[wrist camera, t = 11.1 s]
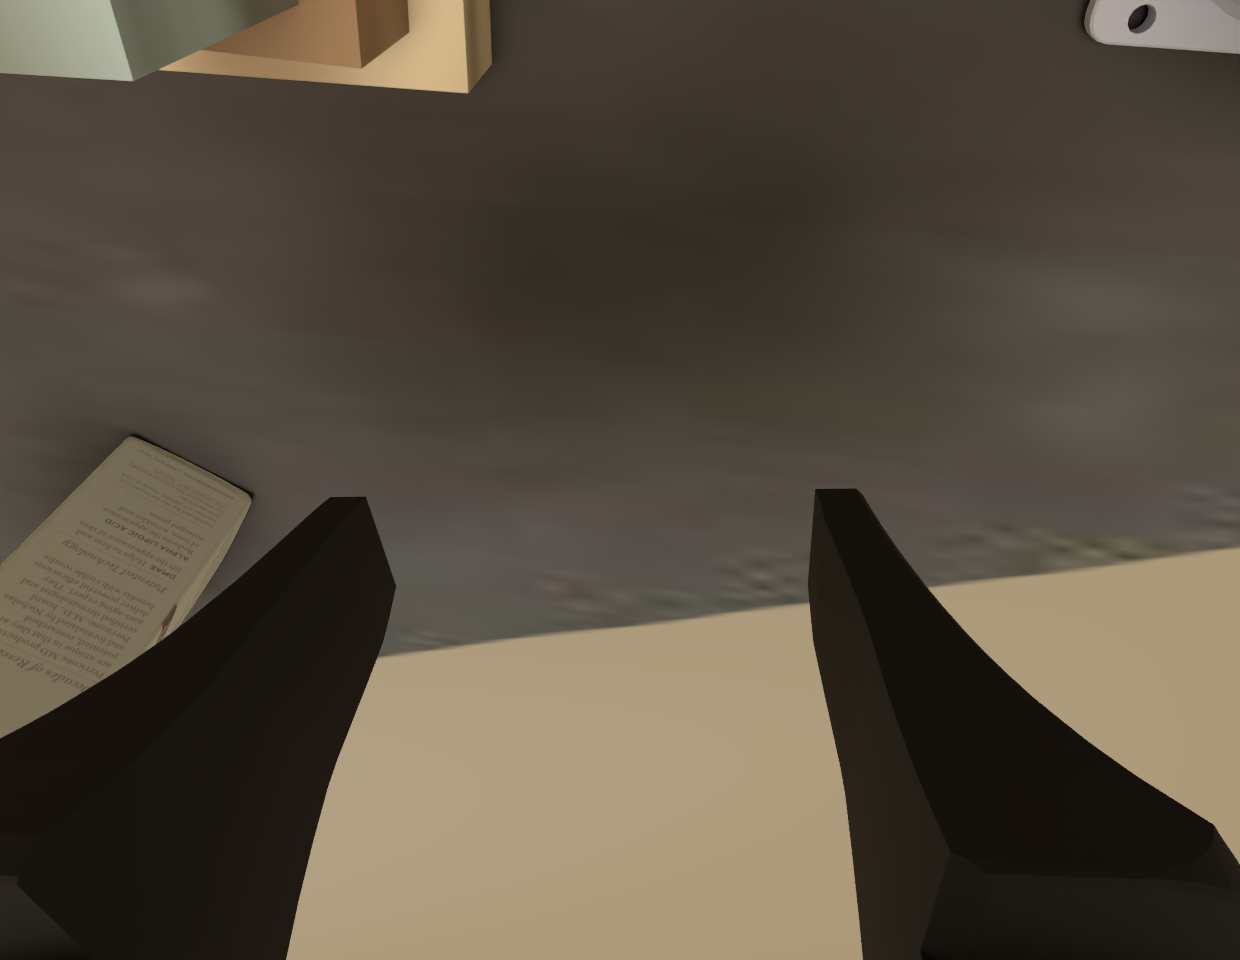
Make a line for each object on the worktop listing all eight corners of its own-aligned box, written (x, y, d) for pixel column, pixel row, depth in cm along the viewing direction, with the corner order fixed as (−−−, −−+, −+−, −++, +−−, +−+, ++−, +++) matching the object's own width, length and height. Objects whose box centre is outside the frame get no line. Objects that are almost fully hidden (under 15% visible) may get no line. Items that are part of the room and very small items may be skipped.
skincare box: (205, 593, 31) (-14, 942, 21) (79, 537, 30) (-214, 882, 20) (261, 488, 28) (31, 845, 18) (122, 419, 26) (-206, 766, 17)
